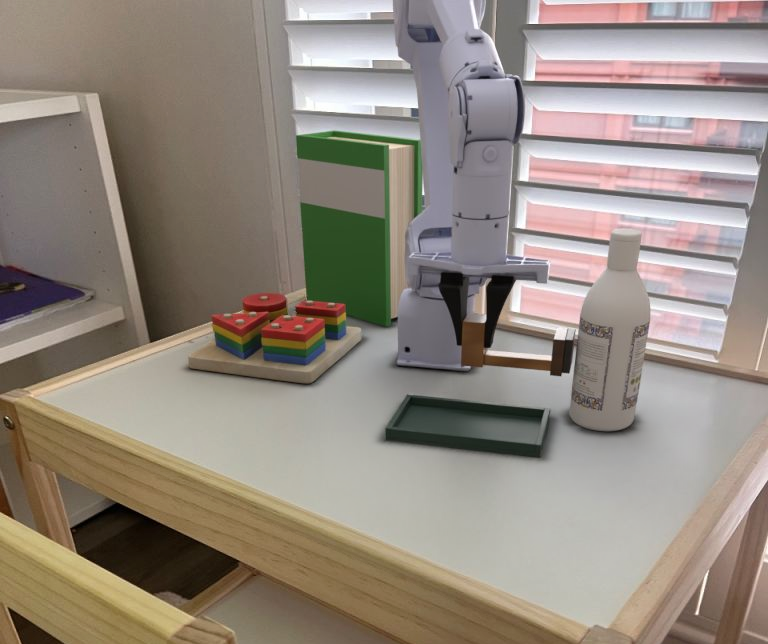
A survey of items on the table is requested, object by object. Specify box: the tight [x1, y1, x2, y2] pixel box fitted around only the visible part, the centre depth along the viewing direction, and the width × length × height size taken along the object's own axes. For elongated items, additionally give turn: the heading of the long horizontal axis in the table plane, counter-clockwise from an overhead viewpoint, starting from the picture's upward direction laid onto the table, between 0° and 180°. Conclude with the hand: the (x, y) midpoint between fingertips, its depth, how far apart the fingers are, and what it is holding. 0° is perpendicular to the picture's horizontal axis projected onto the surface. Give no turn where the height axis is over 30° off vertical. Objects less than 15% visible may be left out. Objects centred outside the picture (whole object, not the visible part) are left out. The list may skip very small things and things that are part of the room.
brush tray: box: [384, 394, 551, 458], centre depth 86 cm, size 16×9×1 cm, turn 74°
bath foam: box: [569, 227, 651, 432], centre depth 83 cm, size 7×7×20 cm
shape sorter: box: [187, 292, 362, 384], centre depth 106 cm, size 18×17×6 cm
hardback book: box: [295, 129, 423, 328], centre depth 117 cm, size 18×7×24 cm, turn 45°
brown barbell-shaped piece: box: [461, 312, 576, 377], centre depth 86 cm, size 12×4×5 cm, turn 74°
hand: (474, 343), depth 88 cm, fingers closed on brown barbell-shaped piece, 2 cm apart
